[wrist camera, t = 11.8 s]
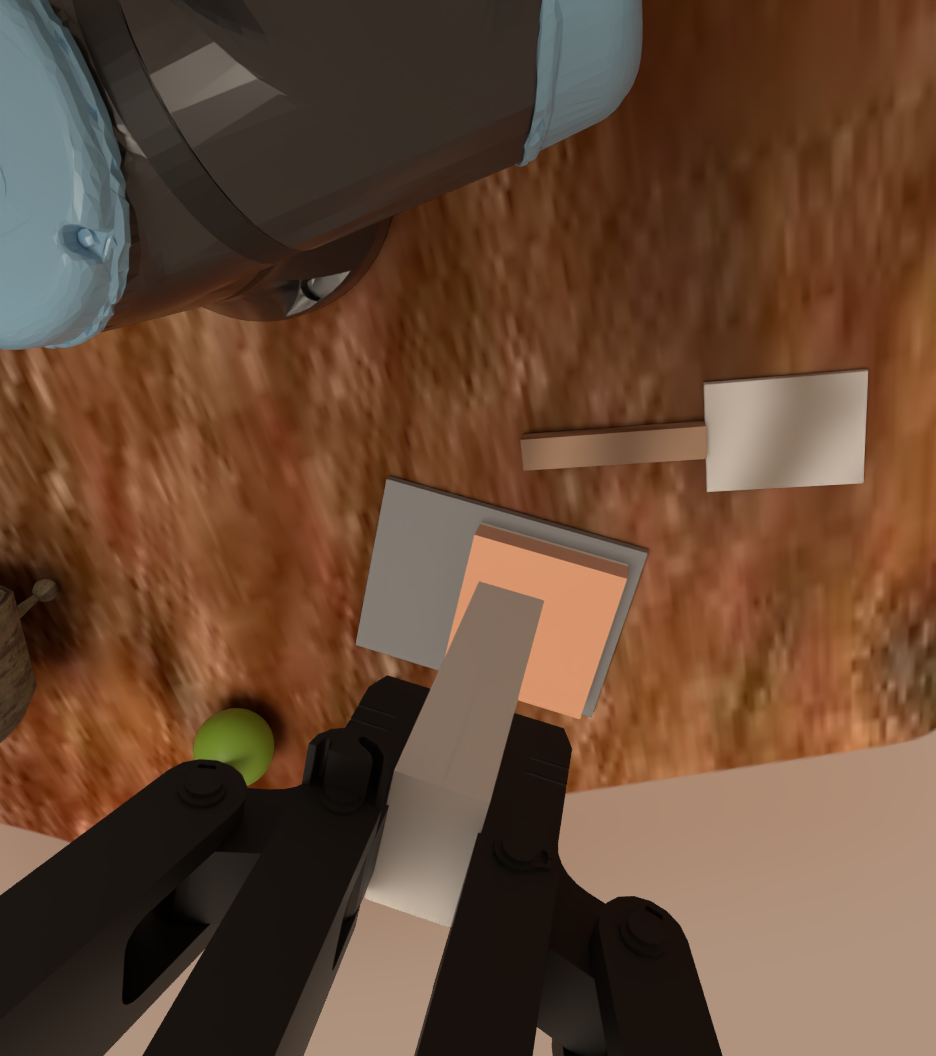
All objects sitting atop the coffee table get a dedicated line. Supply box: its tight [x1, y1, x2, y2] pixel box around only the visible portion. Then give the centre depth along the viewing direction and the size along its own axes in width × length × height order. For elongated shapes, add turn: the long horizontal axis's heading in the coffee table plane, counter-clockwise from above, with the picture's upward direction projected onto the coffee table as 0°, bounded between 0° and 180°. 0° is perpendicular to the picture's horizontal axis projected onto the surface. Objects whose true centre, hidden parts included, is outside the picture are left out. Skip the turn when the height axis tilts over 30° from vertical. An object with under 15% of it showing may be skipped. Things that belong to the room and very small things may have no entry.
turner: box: [520, 369, 868, 492], centre depth 45 cm, size 18×6×1 cm, turn 97°
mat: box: [356, 476, 648, 717], centre depth 51 cm, size 16×12×1 cm
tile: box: [445, 522, 628, 719], centre depth 50 cm, size 2×10×9 cm
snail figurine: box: [193, 708, 274, 786], centre depth 54 cm, size 5×6×12 cm
